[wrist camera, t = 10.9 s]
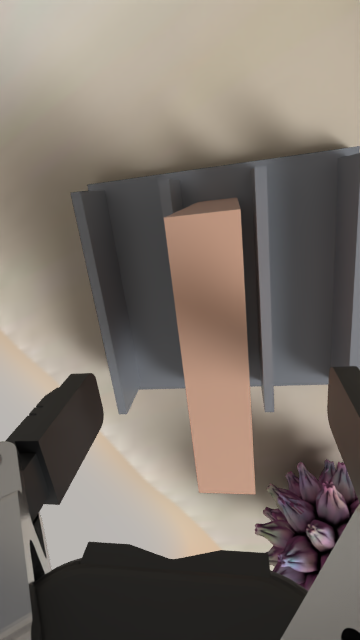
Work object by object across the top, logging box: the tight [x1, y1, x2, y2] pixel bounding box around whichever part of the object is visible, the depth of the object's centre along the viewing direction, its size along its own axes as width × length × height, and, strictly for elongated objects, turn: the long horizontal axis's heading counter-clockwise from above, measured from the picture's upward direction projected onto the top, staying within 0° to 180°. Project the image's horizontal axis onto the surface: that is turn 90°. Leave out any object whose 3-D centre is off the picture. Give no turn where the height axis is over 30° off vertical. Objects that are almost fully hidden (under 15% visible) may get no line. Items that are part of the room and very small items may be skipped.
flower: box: [255, 459, 360, 591], centre depth 25 cm, size 12×12×12 cm
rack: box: [71, 146, 360, 414], centre depth 23 cm, size 16×17×6 cm
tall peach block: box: [164, 197, 256, 494], centre depth 19 cm, size 12×2×12 cm, turn 7°
